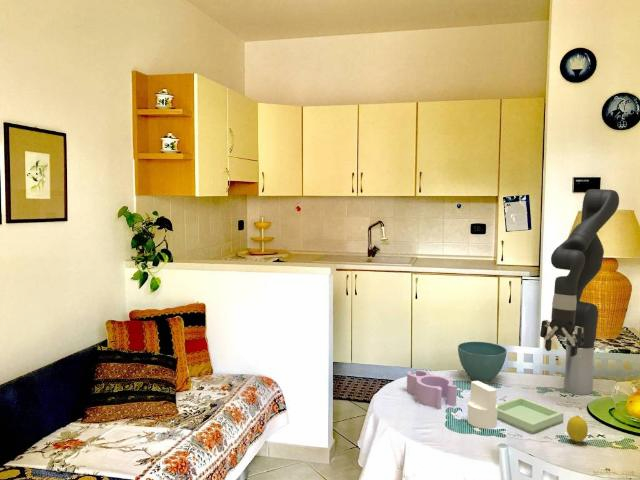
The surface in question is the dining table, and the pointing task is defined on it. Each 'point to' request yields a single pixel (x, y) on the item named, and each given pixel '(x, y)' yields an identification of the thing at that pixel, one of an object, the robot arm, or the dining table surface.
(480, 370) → the teal bowl
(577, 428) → the lemon
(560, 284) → the robot arm
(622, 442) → the dining table surface
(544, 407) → the tray
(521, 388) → the dining table surface
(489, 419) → the base with upright slab
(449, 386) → the clip
